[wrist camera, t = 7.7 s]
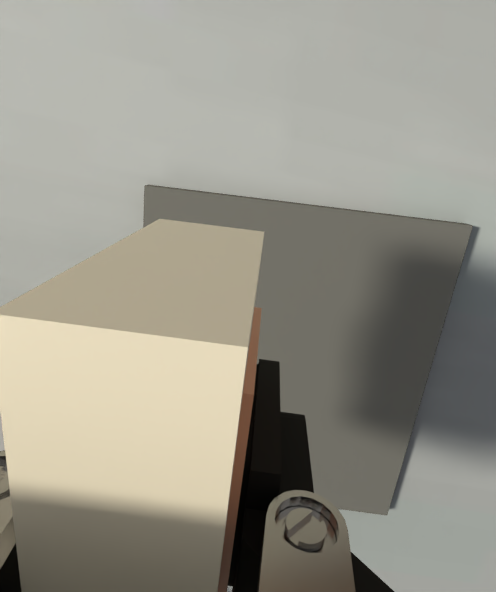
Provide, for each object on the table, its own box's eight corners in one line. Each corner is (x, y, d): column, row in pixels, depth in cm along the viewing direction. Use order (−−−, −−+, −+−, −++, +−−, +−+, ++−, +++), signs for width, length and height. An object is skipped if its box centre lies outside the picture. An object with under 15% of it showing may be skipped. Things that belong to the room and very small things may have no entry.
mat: (384, 506, 23) (387, 515, 22) (139, 473, 23) (136, 481, 22) (466, 223, 17) (472, 225, 17) (148, 184, 18) (144, 185, 17)
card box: (232, 517, 12) (197, 818, 7) (149, 505, 13) (44, 794, 7) (270, 232, 9) (263, 349, 4) (159, 218, 9) (-13, 312, 4)
